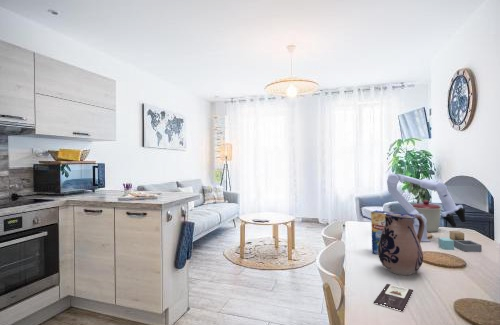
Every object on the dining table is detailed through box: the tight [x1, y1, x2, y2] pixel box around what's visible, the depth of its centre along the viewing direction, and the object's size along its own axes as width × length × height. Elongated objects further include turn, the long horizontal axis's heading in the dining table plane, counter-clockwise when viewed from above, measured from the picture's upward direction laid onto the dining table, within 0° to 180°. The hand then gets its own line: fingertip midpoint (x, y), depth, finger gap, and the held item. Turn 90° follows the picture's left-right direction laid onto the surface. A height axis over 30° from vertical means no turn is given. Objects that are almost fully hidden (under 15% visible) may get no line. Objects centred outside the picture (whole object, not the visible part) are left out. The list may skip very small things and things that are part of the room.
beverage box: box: [370, 210, 398, 255], centre depth 143 cm, size 7×11×22 cm, turn 45°
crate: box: [454, 239, 483, 253], centre depth 148 cm, size 9×9×4 cm
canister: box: [411, 199, 443, 233], centre depth 189 cm, size 18×18×21 cm
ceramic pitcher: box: [378, 212, 424, 276], centre depth 121 cm, size 18×21×25 cm
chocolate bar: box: [373, 283, 414, 312], centre depth 98 cm, size 9×1×18 cm
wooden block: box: [448, 230, 465, 241], centre depth 157 cm, size 5×5×7 cm
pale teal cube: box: [438, 237, 455, 251], centre depth 150 cm, size 5×5×5 cm
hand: (459, 224), depth 158 cm, fingers open, 7 cm apart
